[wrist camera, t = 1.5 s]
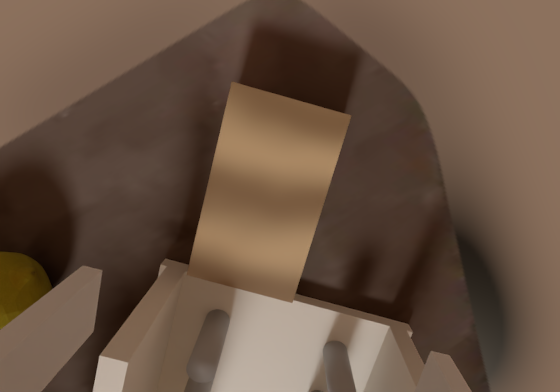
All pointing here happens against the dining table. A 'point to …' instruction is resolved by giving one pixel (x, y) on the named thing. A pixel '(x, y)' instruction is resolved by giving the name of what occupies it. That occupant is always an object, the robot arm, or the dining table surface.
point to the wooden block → (265, 191)
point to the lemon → (20, 285)
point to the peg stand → (252, 343)
